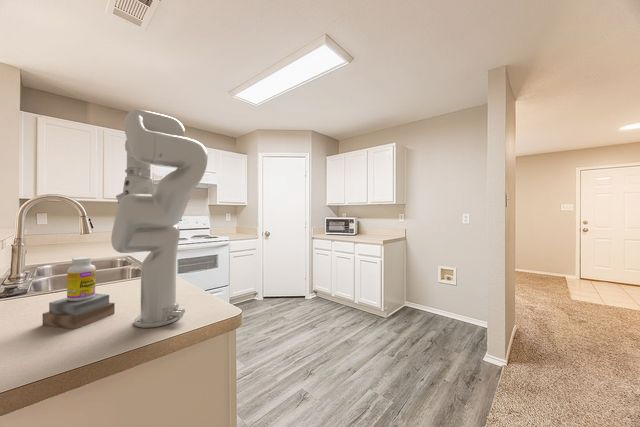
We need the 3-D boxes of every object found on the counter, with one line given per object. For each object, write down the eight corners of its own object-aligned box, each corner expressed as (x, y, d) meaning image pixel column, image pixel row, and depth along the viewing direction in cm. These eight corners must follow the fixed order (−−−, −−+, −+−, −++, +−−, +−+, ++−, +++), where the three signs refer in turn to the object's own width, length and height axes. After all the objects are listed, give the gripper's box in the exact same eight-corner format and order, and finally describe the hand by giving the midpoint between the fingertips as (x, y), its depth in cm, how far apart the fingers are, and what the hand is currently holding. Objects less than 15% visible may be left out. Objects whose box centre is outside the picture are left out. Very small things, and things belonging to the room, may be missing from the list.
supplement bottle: (78, 302, 79) (78, 260, 79) (61, 301, 80) (61, 259, 80) (100, 295, 86) (101, 256, 86) (84, 294, 87) (85, 255, 87)
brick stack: (114, 313, 88) (114, 294, 88) (74, 329, 76) (74, 306, 76) (85, 310, 90) (85, 291, 90) (42, 325, 78) (42, 303, 78)
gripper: (126, 170, 91) (126, 219, 92) (164, 177, 108) (164, 218, 109) (108, 170, 93) (108, 219, 93) (148, 177, 110) (148, 218, 110)
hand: (138, 218), depth 101 cm, fingers open, 9 cm apart
